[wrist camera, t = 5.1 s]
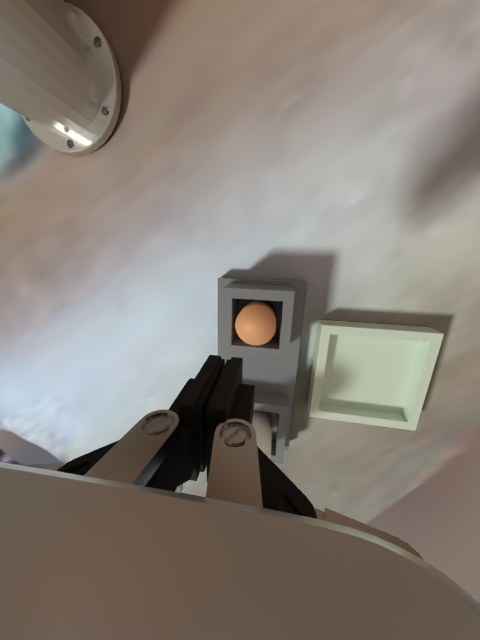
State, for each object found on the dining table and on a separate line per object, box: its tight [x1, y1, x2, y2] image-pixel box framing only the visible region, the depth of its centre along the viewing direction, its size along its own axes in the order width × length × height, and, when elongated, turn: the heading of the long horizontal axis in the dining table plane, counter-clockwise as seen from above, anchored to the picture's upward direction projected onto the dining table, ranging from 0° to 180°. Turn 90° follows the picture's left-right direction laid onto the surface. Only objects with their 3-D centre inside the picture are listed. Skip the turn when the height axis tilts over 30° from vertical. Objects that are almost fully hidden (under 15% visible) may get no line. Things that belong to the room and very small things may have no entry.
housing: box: [218, 277, 307, 464], centre depth 27 cm, size 23×10×6 cm, turn 178°
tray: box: [307, 319, 444, 431], centre depth 27 cm, size 12×12×2 cm
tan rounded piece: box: [235, 300, 276, 345], centre depth 24 cm, size 4×4×4 cm
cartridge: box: [252, 410, 272, 460], centre depth 26 cm, size 5×5×10 cm
